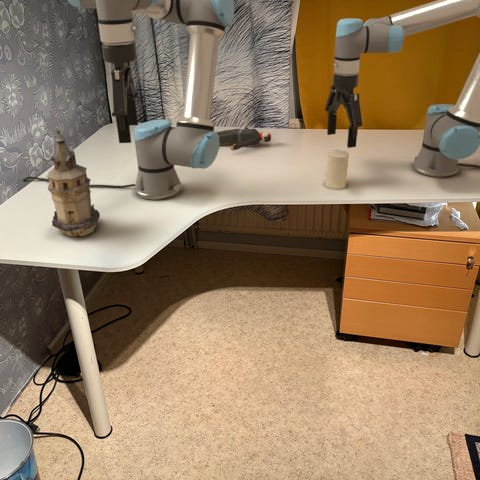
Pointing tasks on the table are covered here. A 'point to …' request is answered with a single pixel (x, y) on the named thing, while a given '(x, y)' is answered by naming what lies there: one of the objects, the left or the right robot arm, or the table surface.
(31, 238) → the table surface
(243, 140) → the toy
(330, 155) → the can
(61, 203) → the miniature building
